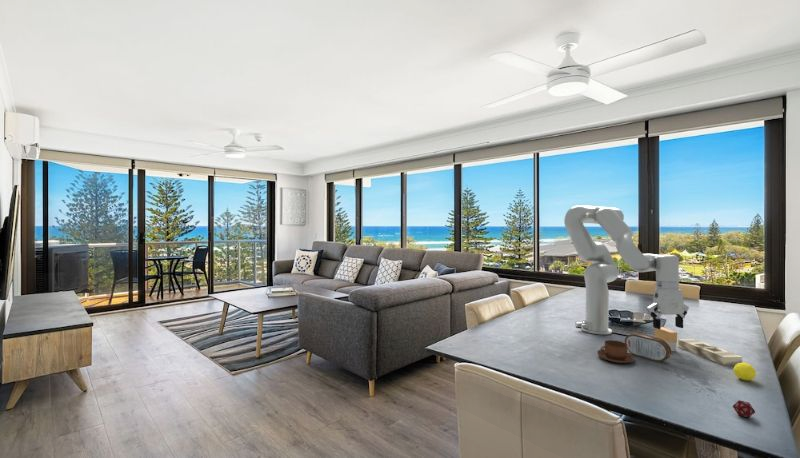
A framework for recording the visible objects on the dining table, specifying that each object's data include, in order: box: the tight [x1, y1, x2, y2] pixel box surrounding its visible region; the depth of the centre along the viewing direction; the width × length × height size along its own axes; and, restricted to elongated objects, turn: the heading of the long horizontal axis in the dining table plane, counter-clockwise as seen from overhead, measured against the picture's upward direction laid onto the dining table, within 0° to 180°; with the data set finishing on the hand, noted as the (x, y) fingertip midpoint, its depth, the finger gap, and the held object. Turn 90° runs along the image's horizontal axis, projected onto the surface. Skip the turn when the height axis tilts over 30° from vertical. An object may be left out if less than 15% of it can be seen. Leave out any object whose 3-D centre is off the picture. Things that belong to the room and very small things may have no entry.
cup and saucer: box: [597, 339, 636, 364], centre depth 139 cm, size 12×12×6 cm
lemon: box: [733, 362, 757, 381], centre depth 122 cm, size 7×5×5 cm
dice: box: [732, 399, 756, 419], centre depth 98 cm, size 4×4×4 cm
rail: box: [677, 338, 743, 366], centre depth 144 cm, size 20×7×3 cm, turn 5°
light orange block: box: [653, 326, 678, 352], centre depth 152 cm, size 8×3×8 cm, turn 5°
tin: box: [624, 332, 672, 363], centre depth 141 cm, size 15×3×8 cm, turn 34°
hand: (668, 327), depth 151 cm, fingers open, 9 cm apart
